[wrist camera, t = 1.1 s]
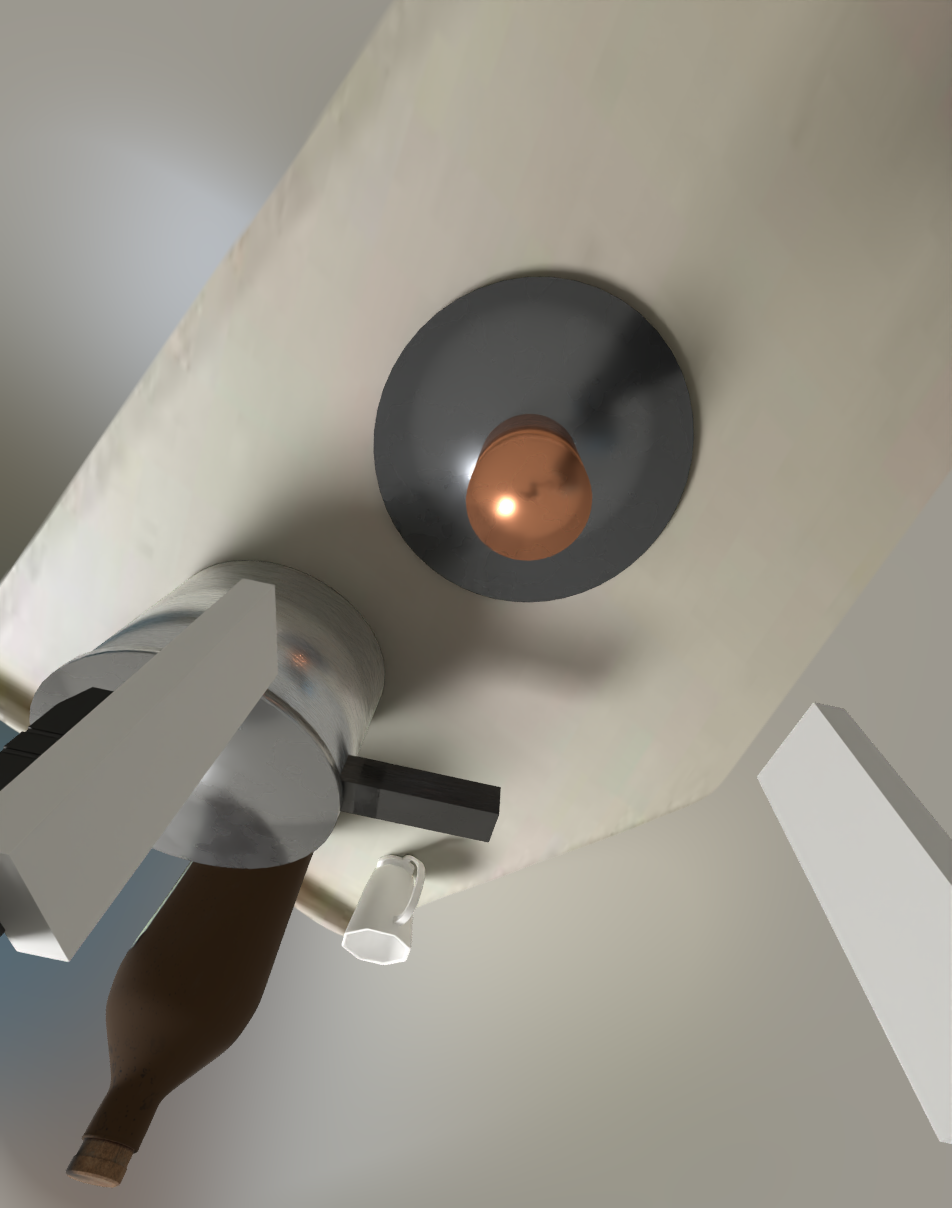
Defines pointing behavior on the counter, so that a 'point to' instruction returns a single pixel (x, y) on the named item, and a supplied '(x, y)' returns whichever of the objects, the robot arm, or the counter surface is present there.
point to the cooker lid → (533, 439)
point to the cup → (386, 912)
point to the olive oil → (184, 998)
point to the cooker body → (284, 730)
